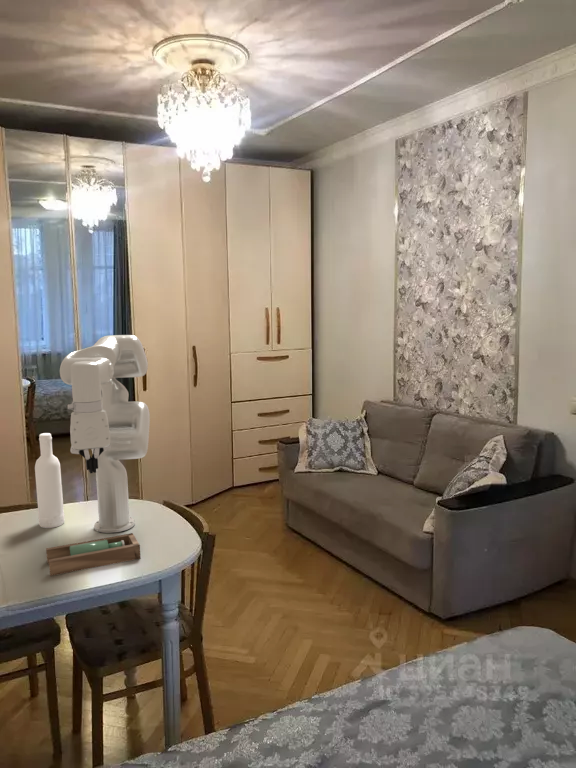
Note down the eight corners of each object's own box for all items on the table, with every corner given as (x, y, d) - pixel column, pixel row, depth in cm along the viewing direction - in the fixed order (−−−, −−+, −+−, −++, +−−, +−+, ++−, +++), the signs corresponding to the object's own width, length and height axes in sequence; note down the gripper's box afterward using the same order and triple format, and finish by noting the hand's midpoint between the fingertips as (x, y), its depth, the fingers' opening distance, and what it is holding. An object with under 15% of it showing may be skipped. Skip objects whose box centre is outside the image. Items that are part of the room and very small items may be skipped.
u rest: (47, 561, 178) (46, 548, 177) (133, 545, 188) (132, 533, 187) (50, 576, 169) (49, 561, 168) (140, 558, 179) (139, 545, 178)
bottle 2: (68, 545, 179) (121, 536, 185) (70, 563, 178) (123, 553, 184) (70, 546, 174) (124, 536, 180) (72, 564, 173) (126, 554, 180)
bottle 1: (56, 517, 213) (50, 430, 208) (69, 522, 208) (63, 433, 203) (34, 524, 207) (26, 434, 202) (47, 530, 202) (39, 438, 197)
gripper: (60, 412, 166) (65, 479, 169) (118, 406, 172) (122, 471, 175) (57, 407, 173) (62, 472, 176) (113, 401, 179) (117, 464, 182)
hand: (92, 471), depth 176 cm, fingers closed
